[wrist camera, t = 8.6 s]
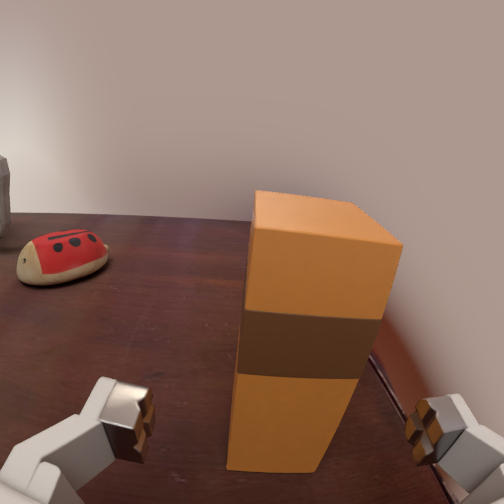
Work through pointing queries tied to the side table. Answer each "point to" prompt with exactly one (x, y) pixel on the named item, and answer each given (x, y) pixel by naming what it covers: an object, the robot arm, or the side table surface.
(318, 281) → the granola carton
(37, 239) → the ladybug figurine
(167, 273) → the side table surface
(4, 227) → the mug
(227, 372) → the side table surface
